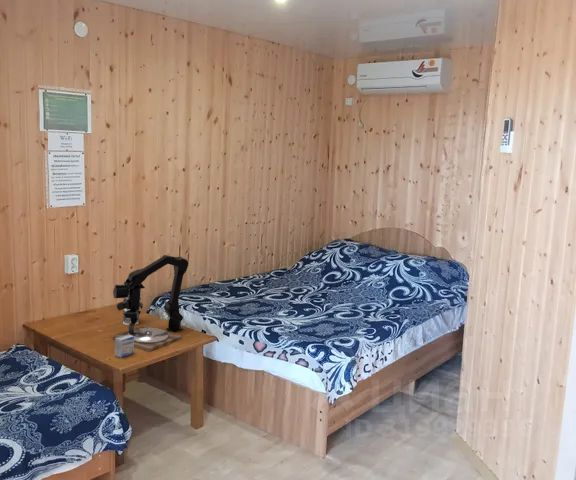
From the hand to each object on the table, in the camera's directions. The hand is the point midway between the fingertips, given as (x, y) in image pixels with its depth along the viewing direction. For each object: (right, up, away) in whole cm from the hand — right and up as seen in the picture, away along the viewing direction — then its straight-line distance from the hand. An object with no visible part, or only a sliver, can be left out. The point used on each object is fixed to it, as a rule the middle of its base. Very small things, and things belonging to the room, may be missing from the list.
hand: (133, 325), depth 294 cm
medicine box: (+3, -10, -26) cm, 28 cm away
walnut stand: (+9, -6, -4) cm, 11 cm away
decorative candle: (-6, -1, +18) cm, 19 cm away
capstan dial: (+9, -5, -4) cm, 11 cm away
